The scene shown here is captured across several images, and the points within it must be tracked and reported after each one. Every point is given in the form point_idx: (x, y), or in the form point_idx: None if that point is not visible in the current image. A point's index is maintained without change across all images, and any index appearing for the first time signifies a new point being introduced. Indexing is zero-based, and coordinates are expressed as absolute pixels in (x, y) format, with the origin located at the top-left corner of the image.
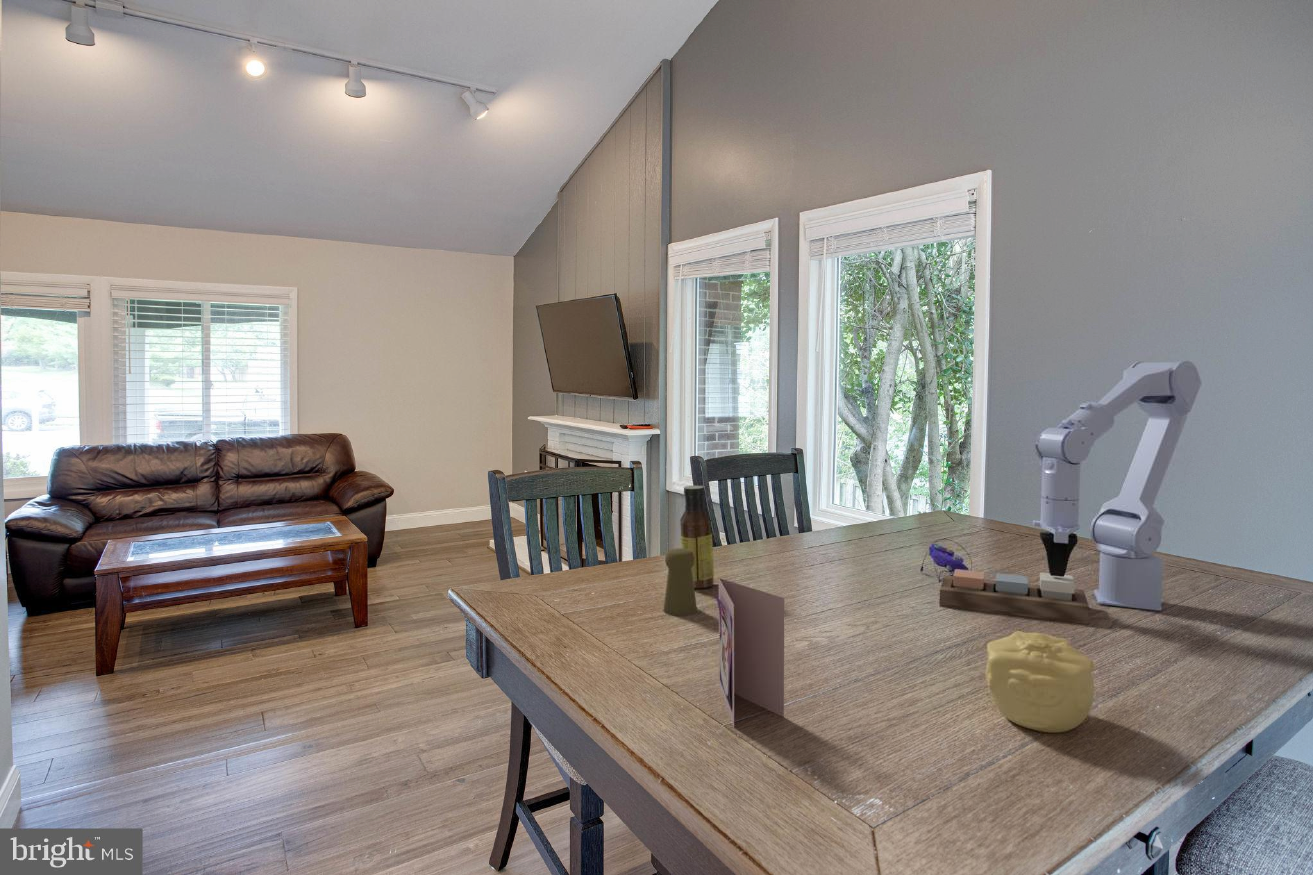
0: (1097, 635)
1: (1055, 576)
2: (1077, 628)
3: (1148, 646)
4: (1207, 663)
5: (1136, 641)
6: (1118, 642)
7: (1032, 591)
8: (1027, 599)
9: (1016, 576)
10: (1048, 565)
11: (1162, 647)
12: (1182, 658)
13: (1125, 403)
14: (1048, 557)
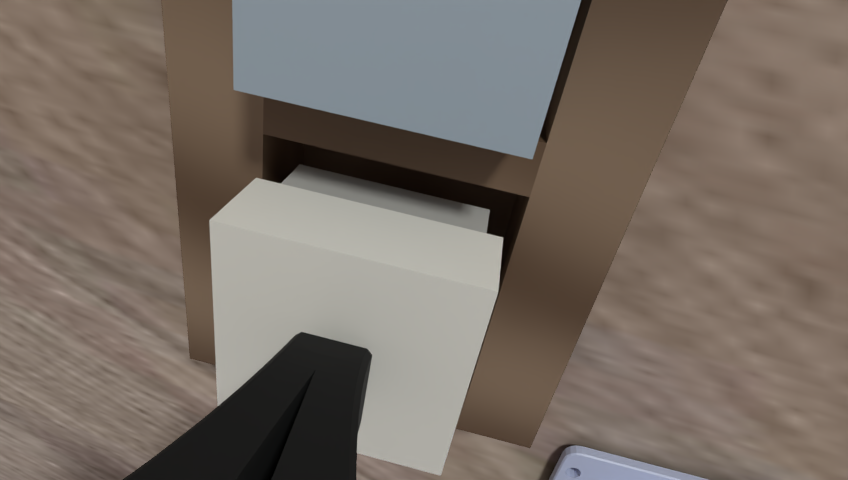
0: (101, 280)
1: (377, 366)
2: (155, 233)
3: (76, 390)
4: (19, 460)
5: (108, 378)
6: (59, 321)
7: (420, 136)
8: (167, 35)
9: (504, 34)
10: (242, 387)
11: (91, 422)
12: (20, 427)
13: None
14: (148, 468)
